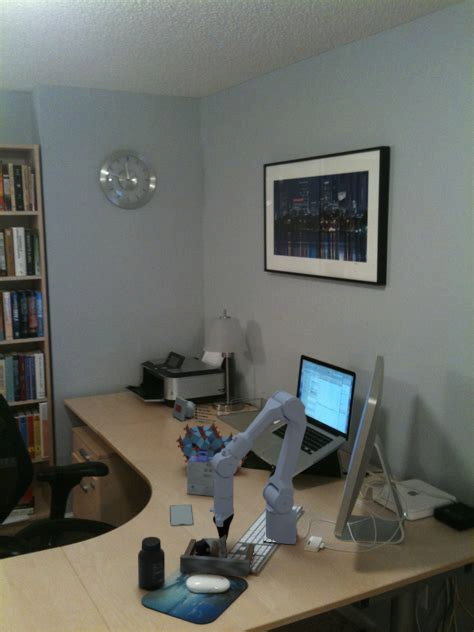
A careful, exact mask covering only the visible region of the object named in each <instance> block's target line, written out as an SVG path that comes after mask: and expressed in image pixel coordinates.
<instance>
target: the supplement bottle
mask: <svg viewBox="0 0 474 632" xmlns="http://www.w3.org/2000/svg"><path fill="white" fill-rule="evenodd" d="M161 543H162V542H161V539H160V538H159V537H157V536H148V537H144V538H143V539H142V541H141V549H140V550H139V552H138V553H137V570H138V571H137V572H138V573H137V574H138V575H137V576H138V577H137V578H138V583H137V584H138V586H139V588H140V589H141V590H143V591H146V592H154V591H159V590H160V589H162V588H164V586H165V584H166V572H165V571H166V570H165V569H166V568H165V567H166V561H165V560H166V558H165V557H166V556H165V555H166V554H165V551H164V550H163V549H162V548H161V547H162V546H161V545H162V544H161Z"/></svg>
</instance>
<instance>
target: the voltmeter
mask: <svg viewBox="0 0 474 632" xmlns="http://www.w3.org/2000/svg"><path fill="white" fill-rule="evenodd" d="M197 405H198V406H197ZM200 405H201V406H200ZM202 405H204V406H202ZM208 406H211V404H207V403H206V404H205V403H201V402H199V403H198V402H197V401H195V402H193V401H189V400H187V399H185V398H183V397H181V396H176V397H175V400H174V404H173V411H172V416H173V417H174V418H175V419H178V420H179V421H182V422H185V420H187V418H193V416H194V419H195V421H196V420H198V423H204V421H209V422H214V423H215V422H216V420H212V419H207V418H208V417H209V412H211V410H207V409H208ZM212 407H217V408H218V407H219V405H216V404H212ZM201 408H202V409H201ZM198 411H203V412H198ZM205 412H206V413H205ZM198 414H200V415H198ZM207 415H208V416H207ZM210 416H214V414H212V413H210ZM217 416H218V415H217V414H215V417H217ZM200 417H201V418H200ZM202 420H203V421H202Z"/></svg>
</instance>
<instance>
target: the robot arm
mask: <svg viewBox="0 0 474 632" xmlns="http://www.w3.org/2000/svg"><path fill="white" fill-rule="evenodd" d="M305 410H306V405H305V404H304V402H303V401H302V400H301V399H300V398H298V397H297V396H294V395H292V394H291V393H288V391H286V390H282V389H281V390H277V391H275V392H274V393H273V394H272V396H271V397H270V398H269V399H268V400H267V401H266V403H265V405H264V407H263V409H262V410H261V411H260V412H259V413H258V415H257V416H256V417H255V418H254V420H253V421H252V422H251V424H250V425H249V426H248V427H246V429H245V431H243V432H238V433H237V434H236V435H235V434H234V435H233V437H232V441H231V442H230V443H229V444H228V445H227V446H226V447H225V448H224V449H222V450H221V452H219V453H217V454H216V455H215V456H214V457H213V459H212V461H211V462H210V463H211V466H212V468H213V469H214V496H213V506H211V507H210V508H209V512H210V513H213V517H212V522H213V523H214V525H215V527H216V530H217V535H218V538H222V537H223V536H224V535H226V541H228V537H229V534H230V527H231V524H232V522H233V520H234V516H235V507H234V475H235V472H236V470H237V469H238V465H240V462H242V460H241V459H242V458H243V457H246V455H247V454H248V453H249V451H250V450H251V449H253V447H254V440H255V439H256V438H257V437H258V436H259V435H261V433H262V432H263V431H264V430H265V429H266V428H267V427H268V426H270V425H271V423H272V422H277V421H279V422H280V421H285V423H286V424H287V426H286V429H285V433H284V437H283V440H282V444H281V449H280V452H279V456H278V460H277V463H276V467H275V471H274V474H273V475H272V476H271V477H269V478H268V482H267V483H266V485H265V486H264V487H263V490H262V498H263V499H264V500H265V501H266V505H265V529H266V537H267V538H268V539H271V540H274V541H276V542H277V543H276V544H283V545H284V544H285V545H296V540H297V535H298V528H297V525H298V524H297V522H298V521H297V520H298V518H297V517H298V512H297V511H298V510H297V509H293V507H294V504H295V501H294V500H295V499H294V494H295V493H294V492H295V488H294V484H293V477H294V475H295V474H294V473H295V471H296V467H297V462H298V459H299V455H300V451H301V447H302V444H303V439H304V436H305V434H306V433H305V432H306V430H307V426H308V425H307V424H308V420H307V416H306V412H305ZM237 459H238V460H237Z"/></svg>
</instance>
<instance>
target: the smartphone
mask: <svg viewBox="0 0 474 632" xmlns="http://www.w3.org/2000/svg"><path fill="white" fill-rule="evenodd" d="M169 522H170V523H169V524H170V526H171V527H185V526H186V527H187V526H189V527H191V526H194V524H195V523H194V513H193V505H192V504H175V505H174V504H173V505H169Z"/></svg>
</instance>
